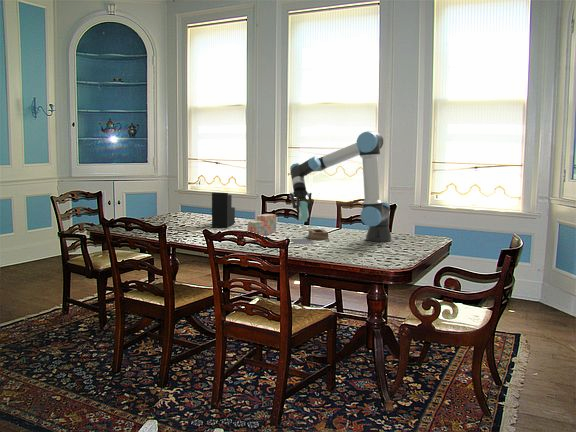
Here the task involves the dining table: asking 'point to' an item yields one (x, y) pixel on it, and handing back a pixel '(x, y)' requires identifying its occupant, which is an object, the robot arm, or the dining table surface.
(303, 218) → the tile
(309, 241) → the mat
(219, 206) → the bookend
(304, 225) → the dining table surface
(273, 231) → the stack of blocks
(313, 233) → the brown hollow block
